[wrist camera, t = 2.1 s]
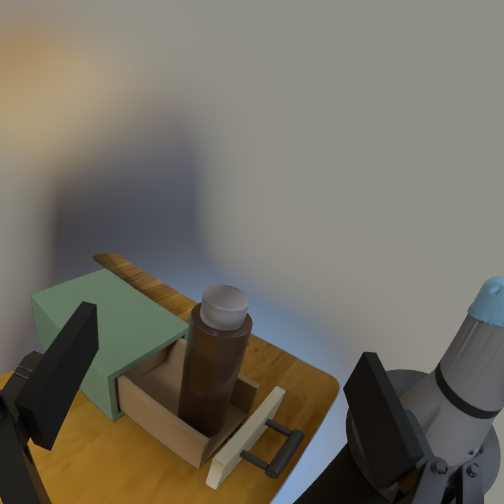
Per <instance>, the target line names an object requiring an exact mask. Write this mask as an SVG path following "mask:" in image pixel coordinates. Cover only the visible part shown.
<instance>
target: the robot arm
mask: <svg viewBox="0 0 504 504" xmlns="http://www.w3.org/2000/svg"><path fill="white" fill-rule="evenodd" d="M98 350H99V339H98V321H97V304H93V303H89V302H85V301H82V302H81V304H80V305H79V306H78V308H77V309H76V310H75V312H74V313H73V314H72V316H71V317H70V318H69V320H68V321H67V322H66V324H65V325H64V327H63V328H62V329H61V331H60V332H59V334H58V335H57V336H56V338H55V339H54V341H53V342H52V344H51V345H50V347H49V348H48V349H47V351H46V352H45V354H41V353H38V352H35V351H33V352H31V353H30V354H28V355H27V356H25V357H24V358H23V360H22V362H21V363H20V364H19V367H17V368H16V370H15V371H14V374H12V376H11V377H10V379H9V380H8V382H7V383H6V385H5V386H4V388H3V389H2V391H1V390H0V497H1V500H2V502H3V504H52V503H51V501H50V499H49V497H48V495H47V492H46V490H45V488H44V485H43V483H42V481H41V478H40V476H39V473H38V471H37V468H36V466H35V463H34V460H33V458H32V455H31V452H30V449H29V446H28V445H27V443H28V441H29V439H30V437H31V439H32V441H33V443H34V444H36V445H38V446H40V447H42V448H45V449H47V450H49V451H51V449H52V446H53V444H54V442H55V439H56V437H57V435H58V432H59V430H60V428H61V426H62V423H63V421H64V419H65V417H66V415H67V412H68V410H69V408H70V406H71V404H72V402H73V400H74V398H75V395H76V393H77V391H78V389H79V387H80V385H81V383H82V381H83V379H84V377H85V375H86V373H87V371H88V369H89V367H90V365H91V363H92V361H93V359H94V357H95V355H96V354H97V352H98ZM343 390H344V393H345V395H346V399H347V402H348V405H349V408H350V411H351V414H352V417H353V420H354V423H355V426H356V429H357V433H358V436H359V439H360V442H361V445H362V448H363V452H364V455H365V458H366V461H367V465H368V468H369V471H370V475H371V478H372V481H373V485H374V488H375V490H379V489H385V488H390V487H391V486H392V485H393V484H394V483H395V482H397V483H398V486H399V487H397V488H396V489H395V490H394V491H393V492H391V493H390V494H389V495H388V496H387V497H386V498H387V499H388V498H390V497H391V496H392V498H391V500H390V502H389V504H454V500H455V499H456V500H455V504H484V491H483V475H482V469H481V467H480V466H479V465H478V464H477V463H476V462H474V461H470V460H471V459H472V458H473V457H474V456H475V455H476V454H477V452H478V450H479V453H480V454H482V453H483V452H484V448H483V444H482V443H483V441H484V439H485V437H486V435H487V433H488V431H489V429H490V427H491V425H492V423H493V420H494V418H495V417H496V416H497V414H498V413H499V412H500V411H501V409H502V408H503V407H504V277H502V276H496V277H492V278H490V279H488V280H487V281H486V282H485V283H484V284H483V286H482V288H481V289H480V291H479V293H478V295H477V297H476V298H475V300H474V302H473V303H472V304H471V305H470V306H469V308H468V315H467V316H466V318H465V320H464V322H463V324H462V325H461V327H460V329H459V331H458V332H457V334H456V336H455V338H454V339H453V341H452V343H451V344H450V346H449V348H448V349H447V351H446V353H445V354H444V356H443V357H442V359H441V360H440V362H439V364H438V365H437V367H436V368H435V370H434V371H432V372H431V373H430V374H429V375H427V376H426V377H425V378H423V379H422V380H421V381H420V382H418V383H417V384H416V385H414V386H413V387H412V388H410V389H409V390H408V391H406V392H405V393H404V394H403V395H402V396H401V398H400V399H399V398H398V396H397V394H396V392H395V390H394V388H393V385H392V383H391V381H390V379H389V377H388V375H387V373H386V371H385V369H384V368H383V365H382V363H381V361H380V360H379V358H378V356H377V354H376V353H373V352H363V354H362V356H361V358H360V359H359V361H358V363H357V365H356V367H355V369H354V370H353V372H352V374H351V376H350V378H349V379H348V381H347V383H346V384H345V386H344V388H343Z"/></svg>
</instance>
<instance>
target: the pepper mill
mask: <svg viewBox="0 0 504 504" xmlns="http://www.w3.org/2000/svg"><path fill="white" fill-rule="evenodd" d="M248 306H249V298H248V296H247V295H246V294H245V293H244V292H243V291H241V290H239V289H237V288H235V287H232V286H227V285H213V286H210V287H208V288H206V289H205V291H204V293H203V299H202V302H201V303H199V304H197V305H196V306H195V307H194V308H193V309H192V311H191V316H190V322H189V329H188V336H187V343H186V350H185V357H184V365H183V373H182V380H181V388H180V397H179V405H178V414H177V417H178V418H179V419H181V420H182V421H184V422H185V423H186V424H188V425H189V426H191V427H192V428H194V429H195V430H197V431H198V432H200V433H201V434H203V435H204V436H206V437H210V436H213V435H215V434H217V433H218V432H219V431H220V430H221V429H222V427H223V424H224V421H225V418H226V414H227V411H228V408H229V404H230V401H231V398H232V394H233V391H234V388H235V384H236V381H237V378H238V374H239V371H240V367H241V364H242V361H243V357H244V354H245V350H246V347H247V343H248V340H249V336H250V333H251V329H252V325H253V323H252V319H251V317H250V316H249V314H248V313H247V310H248Z"/></svg>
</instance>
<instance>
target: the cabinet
mask: <svg viewBox="0 0 504 504" xmlns="http://www.w3.org/2000/svg"><path fill="white" fill-rule="evenodd" d="M31 300H32V307H33V313H34V319H35V324H36V329H37V334H38V339H39V342H40V343H41V344H42V346H43V347H44V348H45V350H46V351H47V349H48V348H49V347H50V345H51V344H52V342H53V341H54V339H55V338H56V336H57V335H58V334H59V332H60V331H61V329H62V328H63V327H64V325H65V324H66V322H67V321H68V320H69V318H70V317H71V316H72V314H73V313H74V312H75V310H76V309H77V308H78V306H79V305H80V304H81V302H82V301H85V302H89V303H93V304H97V321H98V339H99V350H98V352H97V354H96V355H95V357H94V359H93V361H92V363H91V365H90V367H89V369H88V371H87V373H86V375H85V377H84V379H83V381H82V383H81V385H80V387H79V389H80V390H81V391H82V392H83V393H84V394H85V395H86V396H87V397H88V398H89V399H90V400H91V401H92V402H93V403H94V404H95V405H96V406H97V407H98V408H99V409H100V410H101V411H102V412H103V413H104V414H105V415H106V416H107V417H108V418H109V419H110V420H111V421H113V422H114V421H115V420H117V419H118V418H120V417H121V416H123V415H124V414H126V413H125V412H123V411H122V410H121V409H120V408H119V407H118V406H117V400H116V391H115V380H114V379H115V378H116V377H118V376H120V375H121V374H123V373H124V372H126V371H128V370H129V369H131V368H133V367H134V366H136V365H137V364H139V363H141V362H142V361H144V360H145V359H147V358H149V357H150V356H152V355H153V354H155V353H157V352H158V351H160V350H161V349H163V348H165V347H166V346H168V345H169V344H171V343H173V342H174V341H176V340H177V339H179V338H180V337H182V338H183V339H185V340H186V341H187V336H188V329H189V324H188V323H187V322H185V321H183V320H182V319H180V318H179V317H177V316H175V315H174V314H172V313H171V312H169V311H168V310H166V309H165V308H163V307H161V306H160V305H158V304H157V303H155V302H154V301H152V300H151V299H149V298H148V297H146V296H145V295H143V294H142V293H140V292H139V291H137V290H136V289H134V288H133V287H132V286H130V285H129V284H127V283H126V282H124V281H123V280H121V279H120V278H119V277H117V276H116V275H114V274H113V273H112V272H110V271H109V270H107V269H106V268H105V269H102V270H99V271H96V272H93V273H90V274H87V275H85V276H82V277H79V278H76V279H73V280H70V281H68V282H64V283H62V284H59V285H56V286H53V287H50V288H47V289H45V290H42V291H39V292H36V293H33V294H31Z"/></svg>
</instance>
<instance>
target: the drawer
mask: <svg viewBox="0 0 504 504" xmlns="http://www.w3.org/2000/svg"><path fill="white" fill-rule="evenodd" d="M186 343H187V341H186V340H185V339H183V338H182V337H180V338H179V339H177V340H176V341H174V342H173V343H171V344H169V345H168V346H166V347H165V348H163V349H161V350H160V351H158V352H157V353H155V354H153V355H152V356H150V357H149V358H147V359H145V360H144V361H142V362H141V363H139V364H137V365H136V366H134V367H133V368H131V369H129V370H128V371H126V372H124V373H123V374H121V375H120V376H118V377H116V378H115V379H114V380H115V391H116V400H117V406H118V407H119V408H120V409H121V410H122V411H123V412H125V413H126V414H127V415H128V416H129V417H130V418H131V419H133V420H134V421H135V422H136V423H137V424H139V425H140V426H141V427H142V428H143V429H145V430H146V431H147V432H148V433H150V434H151V435H152V436H153V437H155V438H156V439H157V440H158V441H160V442H161V443H162V444H164V445H165V446H166V447H168V448H169V449H170V450H172V451H173V452H174V453H176V454H177V455H178V456H180V457H181V458H183V459H184V460H186V461H187V462H188V463H190V464H191V465H193V466H194V467H196V468H197V469H199V468H200V467H201V466H202V465H203V464H204V463H205V462H206V461H207V460H208V459H209V458H210V457H211V456H212V455H213V454H214V453H215V452H216V451H217V450H218V448H219V447H220V446H221V445H222V444H223V443H224V442H225V441H226V440H227V439H228V438H229V437H230V435H231V434H232V433H233V432H234V431H235V430H236V429H237V428H238V427H239V425H240V424H241V423H242V422H243V421H244V420H245V419H246V418H247V416H248V415H249V414H250V412H251V409H252V406H253V404H254V401H255V398H256V396H257V393H258V390H259V388H260V384H258V383H256V382H254V381H252V380H251V379H249V378H247V377H245V376H244V375H242V374H240V373H239V374H238V378H237V381H236V384H235V388H234V391H233V394H232V398H231V401H230V404H229V408H228V411H227V414H226V418H225V421H224V424H223V427H222V429H221V430H220V431H219V432H218V433H217V434H215V435H213V436H210V437H206V436H204V435H203V434H201V433H200V432H198V431H197V430H195V429H194V428H192V427H191V426H189V425H188V424H186V423H185V422H184V421H182V420H181V419H179V418H178V417H177V414H178V405H179V397H180V388H181V380H182V373H183V365H184V357H185V350H186ZM285 392H286V391H285V390H284V389H282V388H280V387H278V386H275V388H274V389H273V390H272V391H271V393H270V394H269V395H268V396H267V397H266V399H265V400H264V401H263V402H262V404H261V405H260V406H259V407H258V408H257V409H256V411H255V412H254V413H253V414H252V415H251V416H250V418H249V419H248V420H247V421H246V422H245V423H244V425H243V426H242V427H241V428H240V429H239V430H238V431H237V432H236V434H235V435H234V436H233V437H232V438H231V439H230V440H229V441H228V443H227V444H226V445H225V446H224V447H223V448H222V449H221V450H220V451H219V452H218V453H217V454H216V456H215V457H214V458H213V461H212V464H211V467H210V470H209V474H208V477H207V480H206V483H205V484H207V485H208V486H210V487H211V488H213V489H215V490H216V489H217V488H218V487H219V486H220V484H221V483H222V482H223V481H224V480H225V479H226V478H227V476H228V475H229V474H230V473H231V472H232V471H233V469H234V468H235V467H236V466H237V465H238V463H239V462H240V461H241V460H242V459H245V460H247V461H248V462H250V463H252V464H254V465H256V466H257V467H259V468H261V469H263V470H265V474H266V475H267V476H268V477H270V478H272V479H277V478H278V477H279V476H280V474H281V473H282V471H283V470H284V468H285V467H286V465H287V464H288V462H289V461H290V459H291V457H292V456H293V454H294V453H295V451H296V450H297V448H298V446H299V445H300V443H301V441H302V440H303V438H304V433H303V432H302V431H300V430H293V431H291V430H290V429H288V428H286V427H284V426H282V425H280V424H278V423H276V422H274V421H272V420H273V418H274V415H275V413H276V411H277V409H278V407H279V405H280V403H281V400H282V398H283V396H284V394H285ZM267 427H270V428H272V429H273V430H275V431H277V432H279V433H281V434H283V435H285V436H287V437H288V438H287V440H286V441H285V443H284V444H283V446H282V447H281V448H280V450H279V451H278V453H277V454H276V456H275V457H274V459H273V460H272V461H271V463H270V464H268V463H266V462H265V461H263V460H261V459H259V458H257V457H255V456H254V455H252V454H250V453H248V451H249V450H250V449H251V448H252V446H253V445H254V444H255V443H256V441H257V440H258V439H259V437H260V436H261V435H262V434H263V432H264V431H265V430H266V428H267Z"/></svg>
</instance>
